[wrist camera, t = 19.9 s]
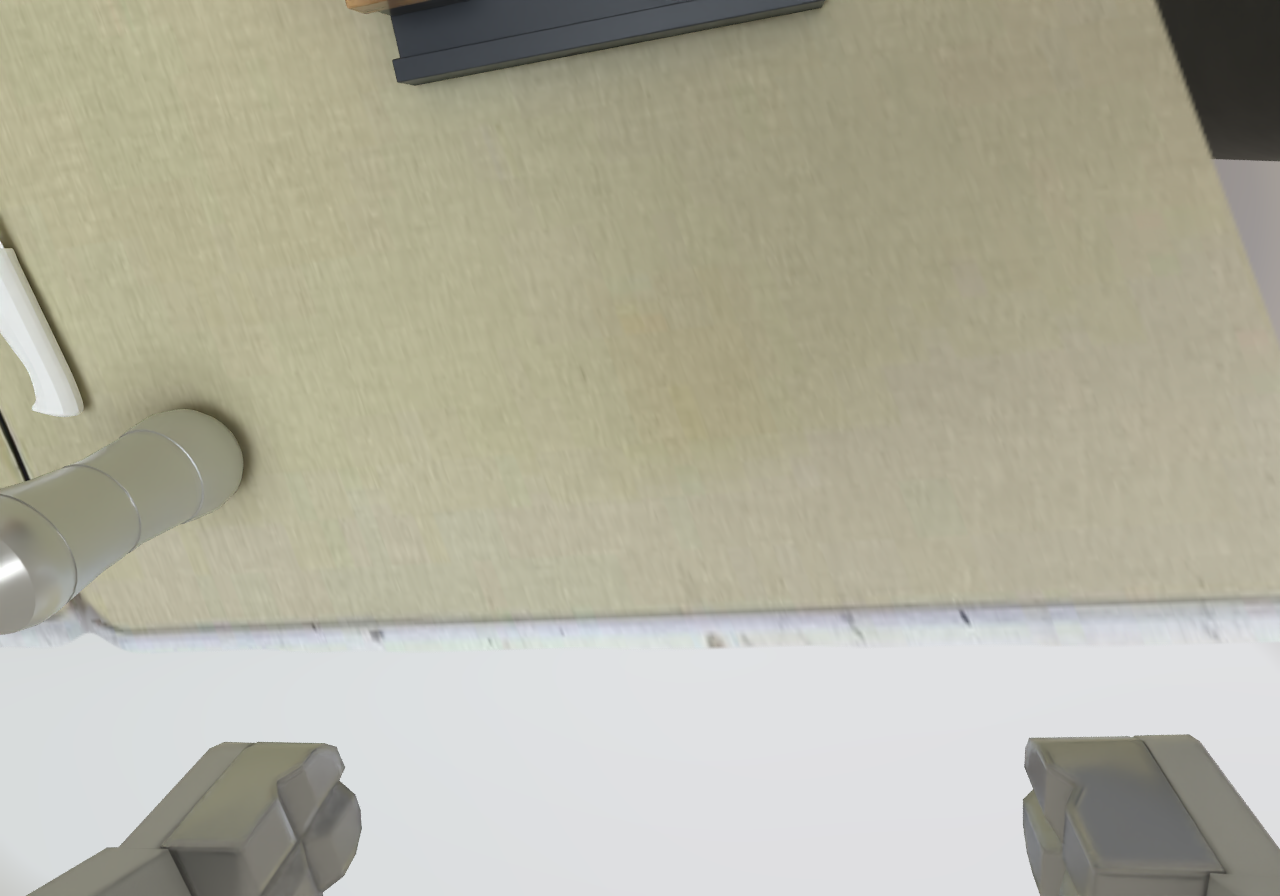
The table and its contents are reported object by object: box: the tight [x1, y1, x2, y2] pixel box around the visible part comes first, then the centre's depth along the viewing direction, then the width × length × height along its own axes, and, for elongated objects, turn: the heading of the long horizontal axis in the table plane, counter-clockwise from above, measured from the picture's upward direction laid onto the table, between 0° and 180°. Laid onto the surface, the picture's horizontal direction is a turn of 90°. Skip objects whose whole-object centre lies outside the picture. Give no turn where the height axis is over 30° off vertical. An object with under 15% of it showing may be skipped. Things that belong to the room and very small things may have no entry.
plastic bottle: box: [0, 409, 243, 635], centre depth 39 cm, size 6×7×20 cm
